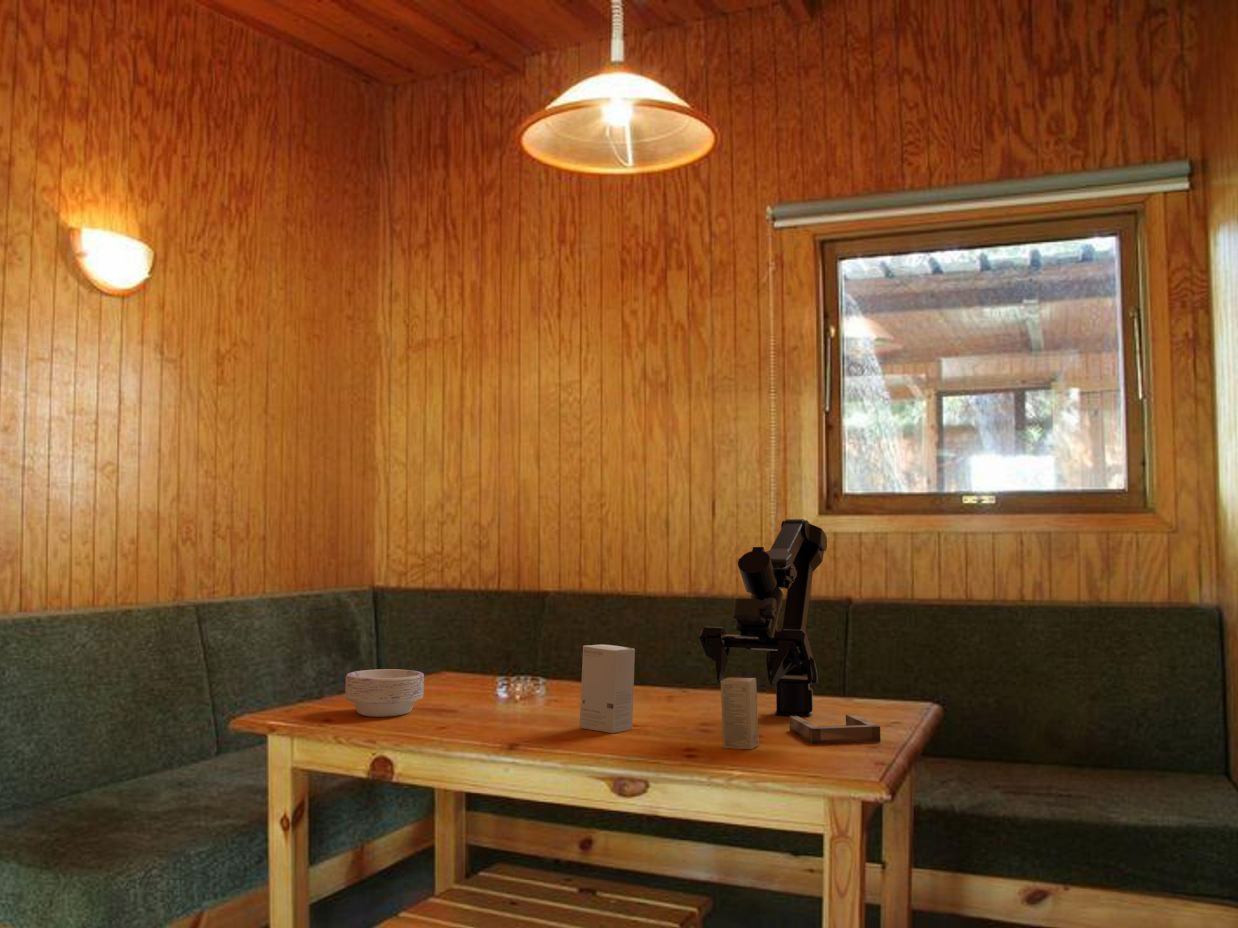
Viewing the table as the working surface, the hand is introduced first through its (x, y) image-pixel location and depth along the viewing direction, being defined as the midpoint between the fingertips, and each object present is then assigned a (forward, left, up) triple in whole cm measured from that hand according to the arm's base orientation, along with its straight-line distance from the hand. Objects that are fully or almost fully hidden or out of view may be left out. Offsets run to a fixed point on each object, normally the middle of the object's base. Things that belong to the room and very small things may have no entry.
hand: (744, 682), depth 175 cm
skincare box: (-26, +8, -10) cm, 29 cm away
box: (-1, -3, -10) cm, 11 cm away
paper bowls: (-73, +16, -10) cm, 75 cm away
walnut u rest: (+14, +9, -10) cm, 20 cm away
